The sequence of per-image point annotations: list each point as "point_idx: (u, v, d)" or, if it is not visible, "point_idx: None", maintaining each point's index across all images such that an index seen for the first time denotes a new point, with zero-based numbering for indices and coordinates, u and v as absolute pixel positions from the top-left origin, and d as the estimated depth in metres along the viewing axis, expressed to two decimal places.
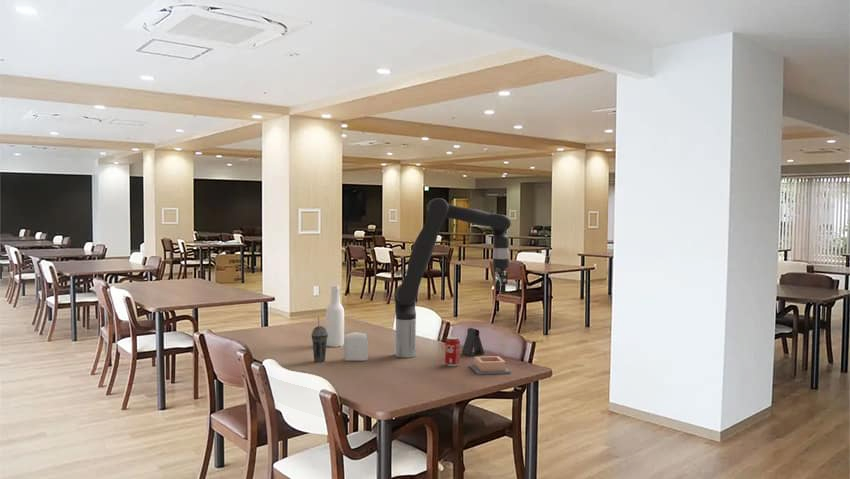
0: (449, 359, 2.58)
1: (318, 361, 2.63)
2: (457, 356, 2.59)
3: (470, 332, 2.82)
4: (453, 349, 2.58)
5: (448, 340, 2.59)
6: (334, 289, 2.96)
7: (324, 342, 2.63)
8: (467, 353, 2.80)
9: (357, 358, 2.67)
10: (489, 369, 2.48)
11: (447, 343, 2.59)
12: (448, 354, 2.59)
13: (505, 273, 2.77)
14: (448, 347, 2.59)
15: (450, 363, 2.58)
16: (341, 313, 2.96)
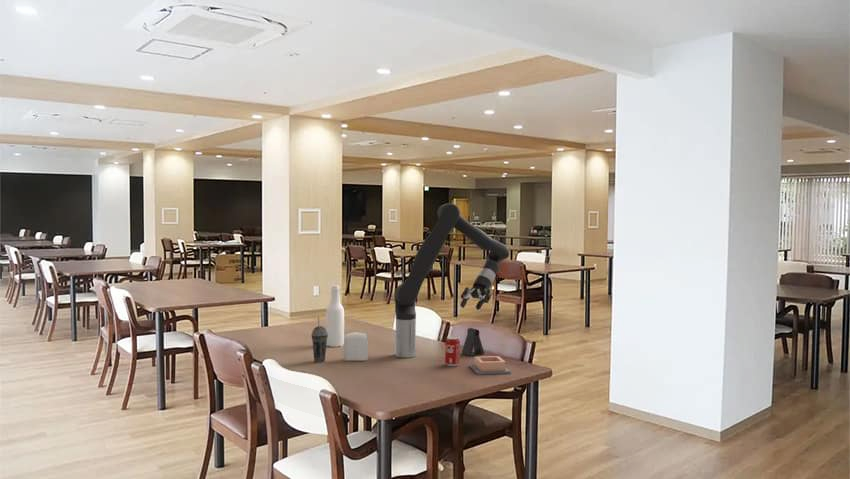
0: (449, 359, 2.58)
1: (318, 361, 2.63)
2: (457, 356, 2.59)
3: (470, 332, 2.82)
4: (453, 349, 2.58)
5: (448, 340, 2.59)
6: (334, 289, 2.96)
7: (324, 342, 2.63)
8: (467, 353, 2.80)
9: (357, 358, 2.67)
10: (489, 369, 2.48)
11: (447, 343, 2.59)
12: (448, 354, 2.59)
13: (490, 293, 2.70)
14: (448, 347, 2.59)
15: (450, 363, 2.58)
16: (341, 313, 2.96)
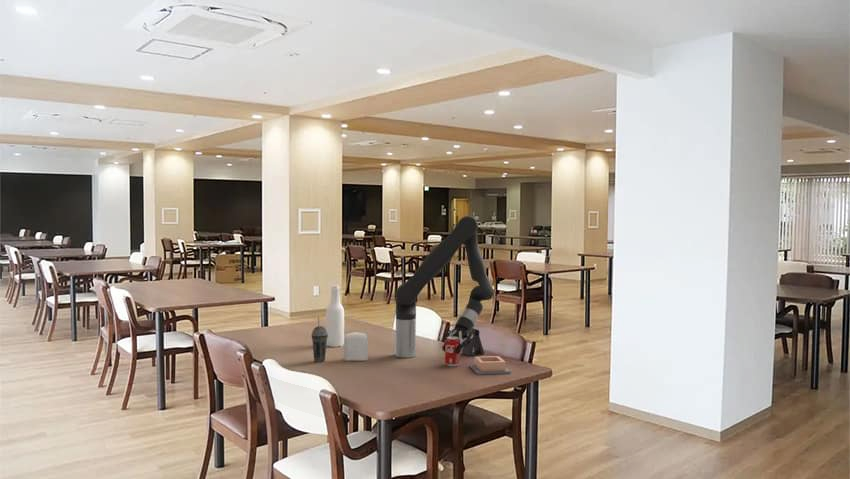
0: (449, 359, 2.58)
1: (318, 361, 2.63)
2: (457, 356, 2.59)
3: (470, 332, 2.82)
4: (453, 349, 2.58)
5: (448, 340, 2.59)
6: (334, 289, 2.96)
7: (324, 342, 2.63)
8: (467, 353, 2.80)
9: (357, 358, 2.67)
10: (489, 369, 2.48)
11: (447, 343, 2.59)
12: (448, 354, 2.59)
13: (472, 337, 2.60)
14: (448, 347, 2.59)
15: (450, 363, 2.58)
16: (341, 313, 2.96)
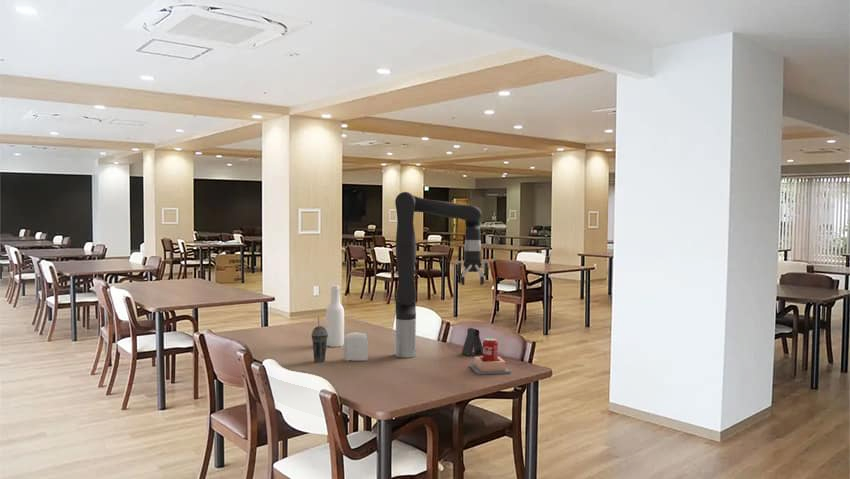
0: None
1: (318, 361, 2.63)
2: (495, 358, 2.51)
3: (470, 332, 2.82)
4: (492, 351, 2.50)
5: (486, 342, 2.52)
6: (334, 289, 2.96)
7: (324, 342, 2.63)
8: (467, 353, 2.80)
9: (357, 358, 2.67)
10: (489, 369, 2.48)
11: (485, 345, 2.51)
12: (486, 356, 2.51)
13: None
14: (486, 349, 2.51)
15: None
16: (341, 313, 2.96)
